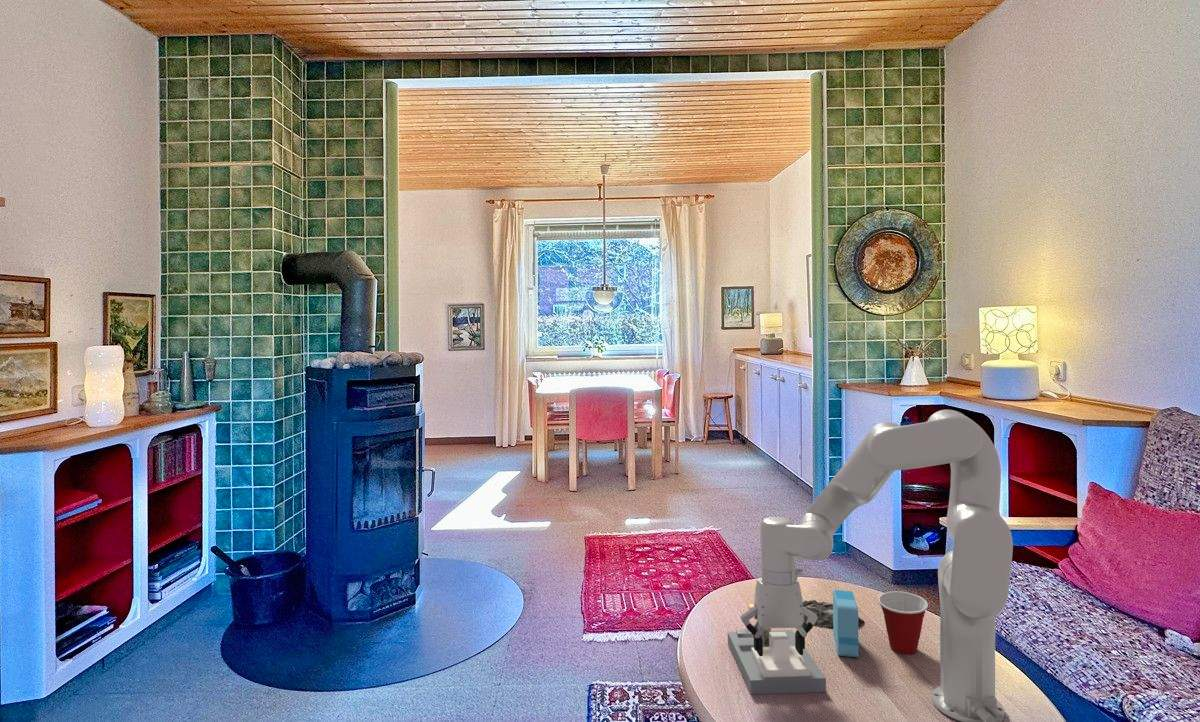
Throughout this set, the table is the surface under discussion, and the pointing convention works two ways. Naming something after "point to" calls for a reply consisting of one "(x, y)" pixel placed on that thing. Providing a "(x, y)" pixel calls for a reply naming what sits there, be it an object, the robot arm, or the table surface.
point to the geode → (822, 613)
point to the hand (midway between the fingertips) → (779, 652)
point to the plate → (773, 684)
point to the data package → (845, 623)
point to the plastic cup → (903, 619)
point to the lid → (780, 658)
